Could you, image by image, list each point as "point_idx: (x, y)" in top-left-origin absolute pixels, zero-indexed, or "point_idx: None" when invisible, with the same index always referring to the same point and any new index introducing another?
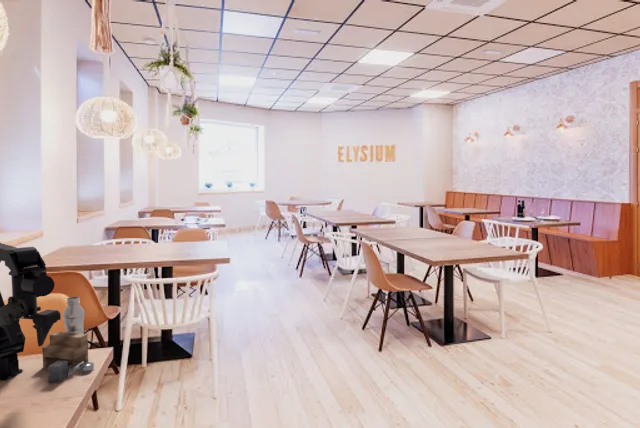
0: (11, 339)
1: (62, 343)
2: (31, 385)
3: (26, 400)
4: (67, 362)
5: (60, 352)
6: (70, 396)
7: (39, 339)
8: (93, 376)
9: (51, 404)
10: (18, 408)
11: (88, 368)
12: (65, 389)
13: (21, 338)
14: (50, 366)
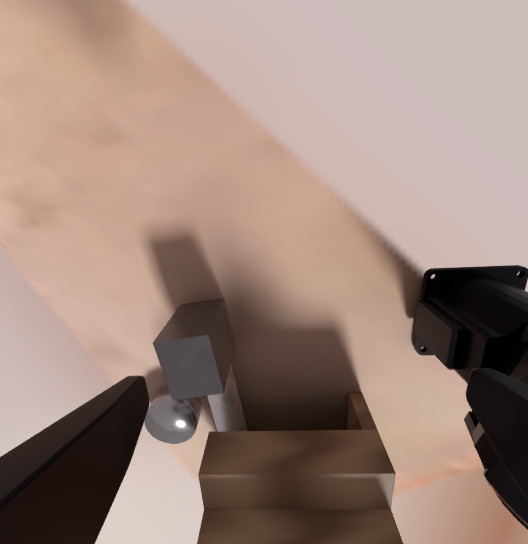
0: (521, 399)
1: (313, 519)
2: (271, 262)
3: (169, 148)
4: (174, 393)
5: (279, 456)
6: (35, 227)
7: (44, 433)
8: (110, 374)
9: (37, 149)
10: (132, 75)
11: (150, 406)
12: (109, 269)
13: (515, 492)
14: (197, 336)
